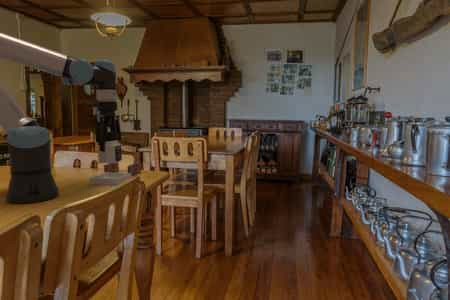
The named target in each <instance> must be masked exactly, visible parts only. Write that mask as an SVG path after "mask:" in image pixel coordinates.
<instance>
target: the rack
mask: <svg viewBox="0 0 450 300" xmlns="http://www.w3.org/2000/svg"><path fill="white" fill-rule="evenodd" d="M119 163H120V162H117V163H105V164H104V165H103V171H104V172H103V173H105V172H109V173H117V172H118V173H120V171H119V170H120V168H119V167H120V166H119ZM141 165H142V164H141V161H140V162H139V161H138V162H134V163H131V164H129V165H127V173H131V178H133V177H135V176H137V175H140V174H141V173H142V168H141V167H142V166H141Z"/></svg>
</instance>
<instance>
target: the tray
mask: <svg viewBox="0 0 450 300" xmlns="http://www.w3.org/2000/svg"><path fill="white" fill-rule="evenodd" d="M130 178H131V179H132V177H131V173H128V172H125V173H124V172H118V173H109V172H105V173H104V172H103V173H100V174H96V175H94V176H91V177H88V185H103V186H119V185H121V184H123V183H125V182H127V181H126V180H128V179H130ZM131 179H130V180H131ZM124 181H125V182H124ZM128 181H129V180H128ZM122 182H123V183H122Z"/></svg>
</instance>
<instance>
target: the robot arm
mask: <svg viewBox="0 0 450 300" xmlns="http://www.w3.org/2000/svg"><path fill="white" fill-rule="evenodd" d="M0 59H3V60H5V61H9V62H12V63H16V64H18V65H22V66H25V67H28V68H32V69H35V70H37V71H42V72H45V73H48V74H51V75H53V76H56V77H57V76H58V77H59V78H60V77H61V83H62V84H63V85H66V86H96V88H95V89H96V101H97V103H96V105H97V107H96V108H97V111H98V112H100V113H99V115H96V116H95V117H94V118H95V143H97V144H98V145H100V157H101V160H108V152H107V143H105V142H106V137H107V132H114V133H116V134H117V143H119V141H122V131H121V123H120V118H121V117H120V115H118V114H117V115H116V113H115V112H116V111H118V101H117V100H118V92H117V72H116V64H115V62H114V61H112V60H105V59H102V60H99V59H98V60H95V61H94V65H93V64H92V63H90V62H89V60H87V59H83V58H75V57H73V56H69V55H67V54H64V53H61V52H58V51H56V50H54V49H50V48H47V47H44V46H41V45H39V44H36V43H32V42H30V41H27V40H24V39H21V38H17V37H15V36H13V35H10V34H6V33H4V32H0ZM0 127H1V129H2V133H1V136H2V137H3V139H4V140H5V141H6V143H7V147H8V160H9V169H10V179H9V181H8V182H9V183H8V188H7V191H6V193H5V199H6V200H5V201H6V203H8V204H9V203H11V204H15V205H18V204H34V203H40V202H45V201H49V200H53V199H55V198H57V197H59V195H60V194H59V187H58V186H57V184H56V181H55V179H54V176H53V174H52V162H51V161H52V160H51V140H50V137H51V136H50V134H49V130H48V129H47V127H43V126H40V125H39V124H38V122H37V120H35V118H33V117H29V116H27V115H26V113H25V112H24V111H23V109H22V108H21V106H20V104H18V102H17V100H16V99H15V98H14V97H13V95H12V94H11V93H10V92H9V90H8V89H7V87H6V86H5V84H4V82H2V79H0ZM108 129H109V131H108Z"/></svg>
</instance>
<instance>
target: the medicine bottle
mask: <svg viewBox="0 0 450 300" xmlns="http://www.w3.org/2000/svg"><path fill="white" fill-rule="evenodd" d="M105 143H107V152H108V160H101V157H100V144H98V145H97V160H98V164H109V163H117V162H118V163H120V162H121V161H123V157H122V156H123V155H122V143H119V142H118V143H117V134H116V133H114V132H110V131H107V137H106V142H105Z"/></svg>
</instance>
